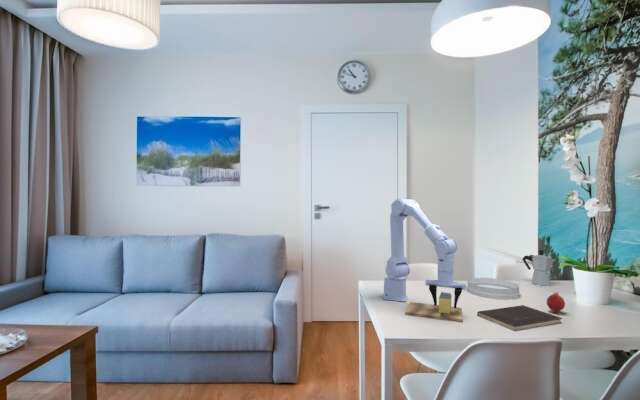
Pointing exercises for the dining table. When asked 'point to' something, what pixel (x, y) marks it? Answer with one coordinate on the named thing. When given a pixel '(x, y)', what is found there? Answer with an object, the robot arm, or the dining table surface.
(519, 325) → the hardcover book
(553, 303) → the onion
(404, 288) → the robot arm
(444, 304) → the block
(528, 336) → the dining table surface
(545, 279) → the coffee maker
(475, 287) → the dish
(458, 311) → the board
